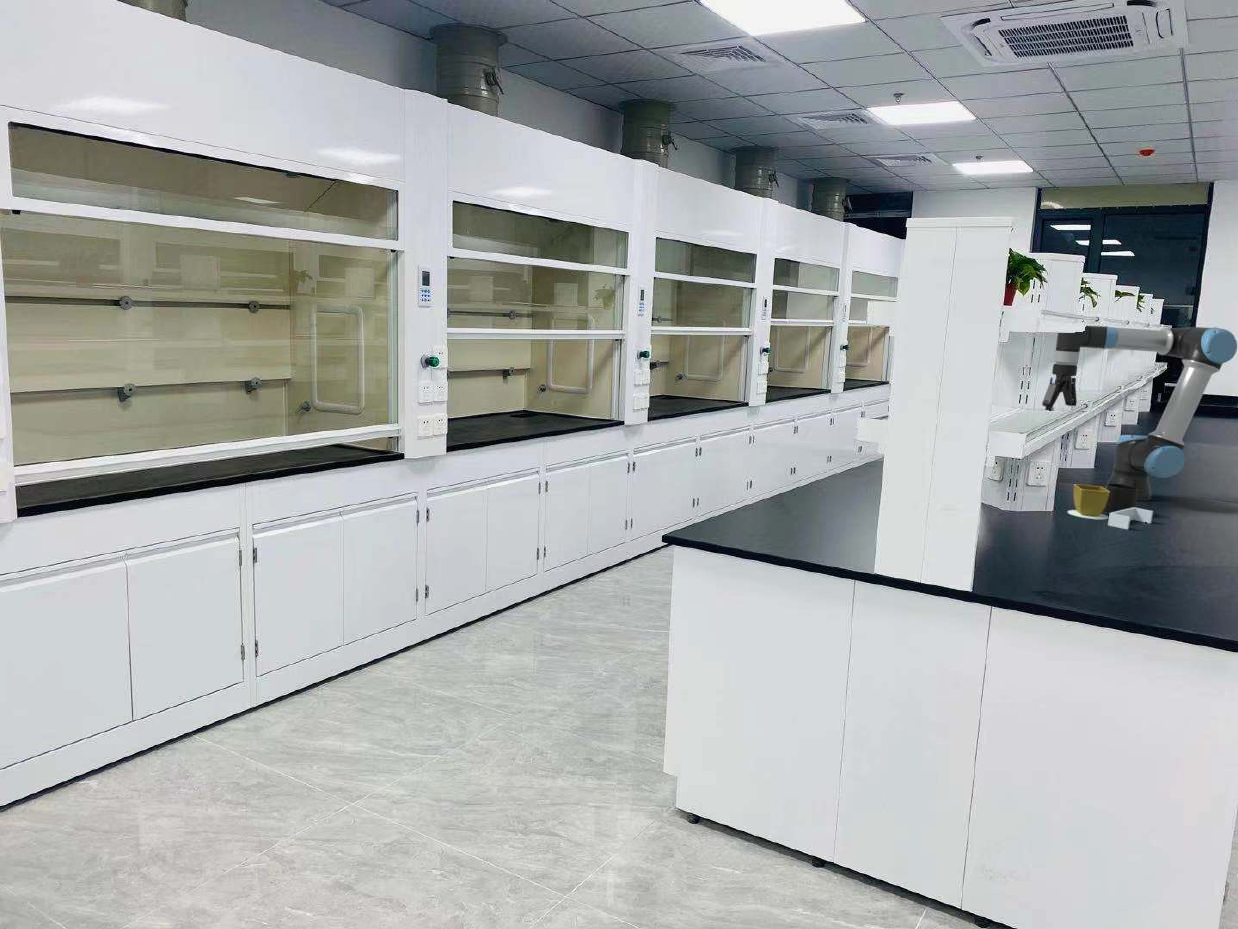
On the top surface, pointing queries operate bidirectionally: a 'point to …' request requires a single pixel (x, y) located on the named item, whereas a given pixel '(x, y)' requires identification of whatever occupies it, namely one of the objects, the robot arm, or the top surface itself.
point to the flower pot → (1090, 499)
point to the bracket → (1129, 517)
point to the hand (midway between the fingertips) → (1056, 424)
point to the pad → (1099, 517)
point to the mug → (1121, 497)
